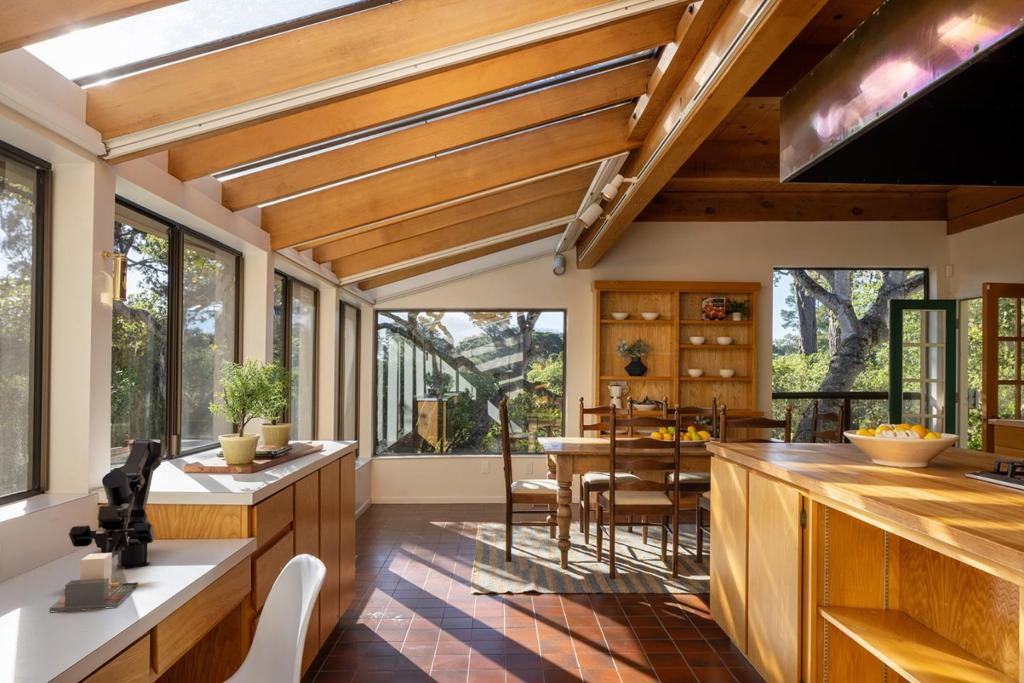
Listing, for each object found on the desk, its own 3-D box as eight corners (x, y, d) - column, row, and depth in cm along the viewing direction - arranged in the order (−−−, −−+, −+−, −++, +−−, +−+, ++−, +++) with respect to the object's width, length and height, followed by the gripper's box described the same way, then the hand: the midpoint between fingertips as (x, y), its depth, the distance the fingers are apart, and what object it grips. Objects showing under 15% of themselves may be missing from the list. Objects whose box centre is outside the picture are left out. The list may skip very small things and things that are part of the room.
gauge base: (76, 590, 177) (77, 566, 178) (138, 586, 181) (138, 562, 181) (49, 612, 160) (50, 585, 160) (117, 607, 164) (118, 581, 164)
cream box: (76, 592, 171) (78, 554, 172) (122, 589, 174) (123, 552, 174) (67, 599, 166) (69, 560, 166) (114, 596, 168) (116, 557, 169)
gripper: (72, 494, 180) (55, 548, 169) (152, 491, 185) (140, 543, 173) (82, 519, 187) (65, 572, 176) (159, 516, 192) (147, 567, 181)
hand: (104, 563), depth 176 cm, fingers closed
